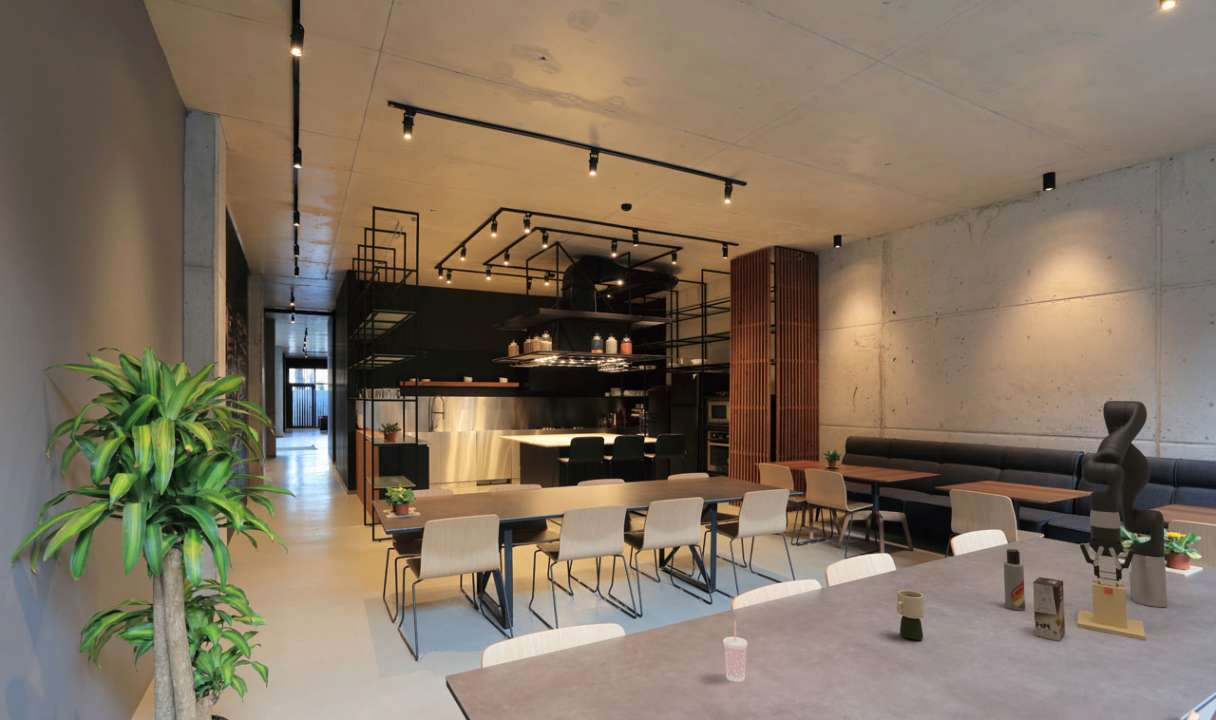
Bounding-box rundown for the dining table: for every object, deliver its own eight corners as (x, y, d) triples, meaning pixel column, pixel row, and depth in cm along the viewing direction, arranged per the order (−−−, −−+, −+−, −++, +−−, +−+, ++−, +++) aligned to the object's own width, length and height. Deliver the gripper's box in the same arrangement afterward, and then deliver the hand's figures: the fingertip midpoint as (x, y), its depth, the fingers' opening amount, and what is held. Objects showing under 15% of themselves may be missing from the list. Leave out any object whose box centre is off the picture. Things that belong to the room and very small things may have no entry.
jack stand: (1079, 613, 201) (1077, 573, 202) (1142, 625, 191) (1140, 583, 192) (1077, 627, 189) (1075, 584, 190) (1145, 640, 179) (1143, 595, 180)
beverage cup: (720, 672, 154) (720, 617, 155) (743, 671, 155) (743, 616, 156) (727, 683, 148) (726, 625, 149) (750, 682, 149) (750, 625, 150)
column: (1101, 615, 193) (1098, 552, 194) (1118, 618, 190) (1115, 555, 192) (1101, 619, 190) (1098, 555, 191) (1118, 622, 187) (1115, 557, 189)
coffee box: (1060, 641, 177) (1058, 586, 178) (1034, 635, 181) (1032, 582, 183) (1065, 633, 183) (1063, 580, 184) (1040, 628, 188) (1038, 576, 189)
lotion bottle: (1028, 611, 202) (1026, 552, 204) (1009, 610, 204) (1007, 551, 205) (1020, 606, 208) (1018, 548, 209) (1002, 604, 209) (1000, 547, 211)
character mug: (913, 630, 184) (912, 588, 185) (934, 639, 178) (933, 594, 179) (888, 636, 180) (887, 592, 181) (908, 645, 173) (907, 599, 174)
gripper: (1134, 526, 190) (1136, 580, 189) (1077, 520, 200) (1080, 572, 198) (1135, 530, 185) (1138, 586, 184) (1076, 523, 194) (1079, 577, 193)
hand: (1107, 578), depth 191 cm, fingers closed on column, 4 cm apart
